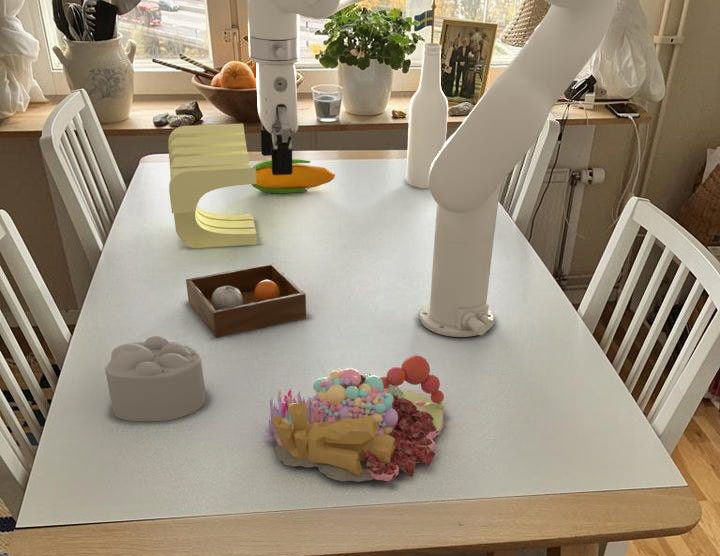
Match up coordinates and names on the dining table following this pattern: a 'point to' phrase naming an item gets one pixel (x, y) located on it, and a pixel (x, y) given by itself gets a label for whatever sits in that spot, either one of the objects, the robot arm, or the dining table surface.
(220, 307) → the garlic
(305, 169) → the corn
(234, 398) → the dining table surface
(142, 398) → the lumpy-topped squat cylinder
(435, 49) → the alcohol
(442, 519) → the dining table surface
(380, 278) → the dining table surface
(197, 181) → the slatted curved stool
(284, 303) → the wooden tray
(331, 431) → the colourful coral reef
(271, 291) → the mandarin
